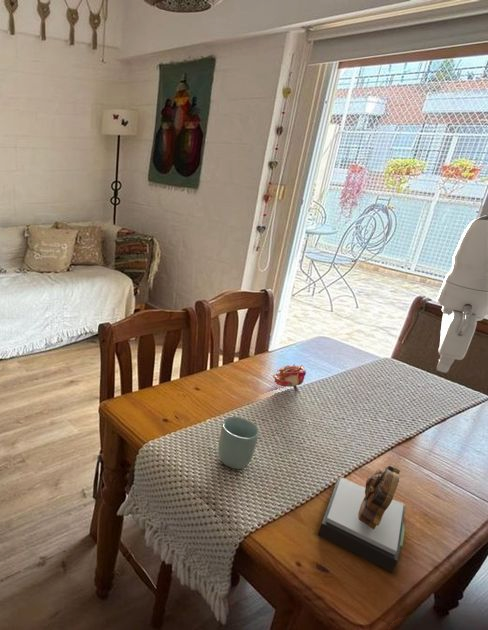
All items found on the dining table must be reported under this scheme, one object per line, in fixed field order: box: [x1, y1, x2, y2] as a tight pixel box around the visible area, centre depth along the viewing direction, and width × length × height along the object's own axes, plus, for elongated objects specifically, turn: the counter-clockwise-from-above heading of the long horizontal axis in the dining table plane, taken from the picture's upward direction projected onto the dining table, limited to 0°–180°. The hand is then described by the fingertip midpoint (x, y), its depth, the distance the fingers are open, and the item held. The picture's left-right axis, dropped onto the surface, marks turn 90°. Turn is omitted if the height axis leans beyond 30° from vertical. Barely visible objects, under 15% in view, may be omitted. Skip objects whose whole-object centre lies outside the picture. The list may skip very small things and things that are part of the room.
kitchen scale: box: [317, 477, 406, 573], centre depth 86 cm, size 12×16×4 cm
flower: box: [272, 363, 307, 392], centre depth 132 cm, size 10×9×8 cm
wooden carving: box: [358, 465, 401, 529], centre depth 83 cm, size 16×5×10 cm, turn 143°
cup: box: [217, 416, 260, 470], centre depth 101 cm, size 8×8×10 cm
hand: (442, 361), depth 89 cm, fingers open, 8 cm apart
